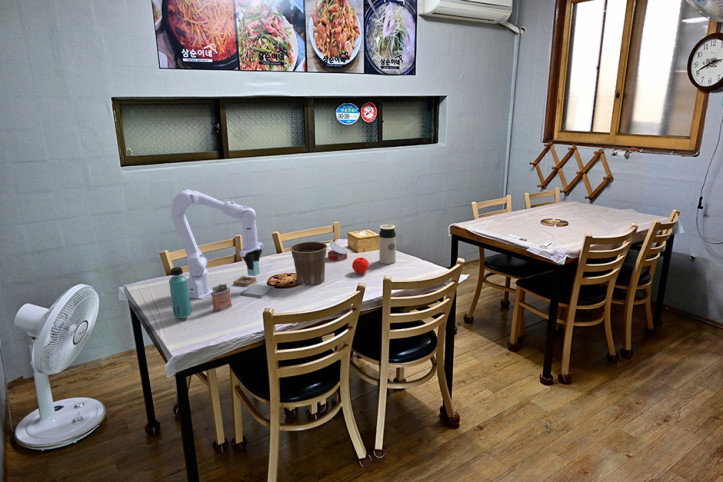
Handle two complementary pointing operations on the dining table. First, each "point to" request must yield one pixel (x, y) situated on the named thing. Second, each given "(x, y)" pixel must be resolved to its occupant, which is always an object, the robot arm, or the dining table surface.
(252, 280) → the collar
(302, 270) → the plant pot
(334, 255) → the canned food
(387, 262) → the travel mug
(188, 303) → the beverage bottle
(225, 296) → the crushed red tin
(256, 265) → the peg
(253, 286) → the mat
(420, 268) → the dining table surface
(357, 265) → the apple
